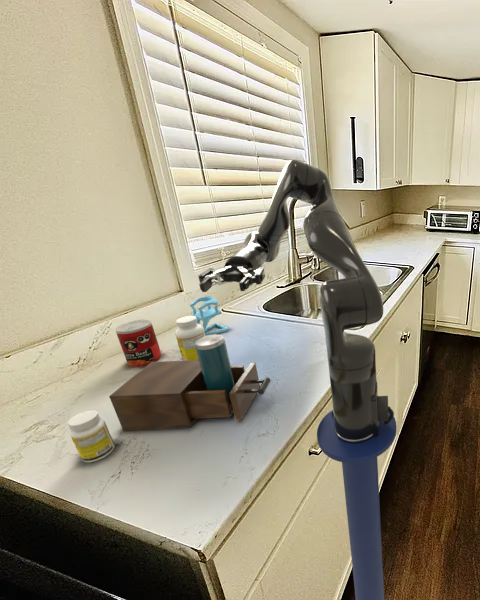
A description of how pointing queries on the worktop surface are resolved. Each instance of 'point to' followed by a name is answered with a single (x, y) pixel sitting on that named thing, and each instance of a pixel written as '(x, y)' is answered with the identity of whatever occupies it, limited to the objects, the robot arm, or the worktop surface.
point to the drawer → (225, 395)
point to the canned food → (138, 342)
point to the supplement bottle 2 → (188, 336)
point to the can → (215, 363)
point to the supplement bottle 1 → (91, 436)
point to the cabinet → (156, 396)
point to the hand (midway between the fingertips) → (222, 287)
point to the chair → (207, 314)
